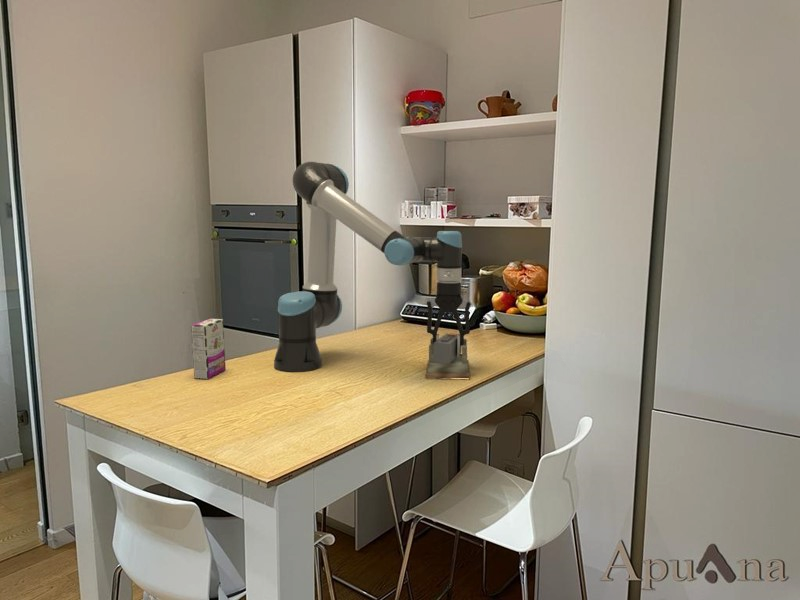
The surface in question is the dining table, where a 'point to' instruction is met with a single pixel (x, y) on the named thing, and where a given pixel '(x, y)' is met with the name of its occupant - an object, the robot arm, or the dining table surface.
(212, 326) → the candy bar box
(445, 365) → the rack
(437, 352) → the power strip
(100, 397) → the dining table surface
